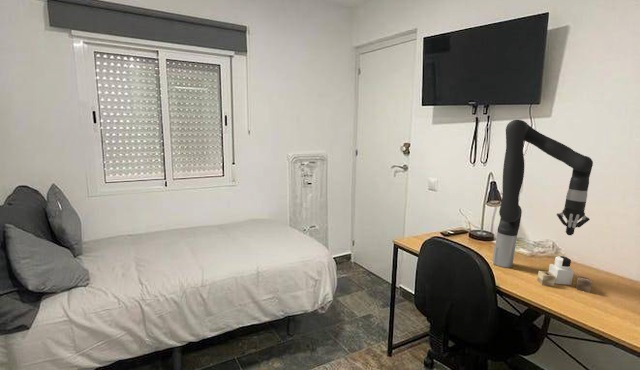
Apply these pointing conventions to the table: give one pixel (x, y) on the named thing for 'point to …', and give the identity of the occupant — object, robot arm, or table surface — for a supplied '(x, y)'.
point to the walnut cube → (584, 284)
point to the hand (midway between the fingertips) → (569, 234)
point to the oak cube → (546, 278)
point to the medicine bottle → (562, 270)
